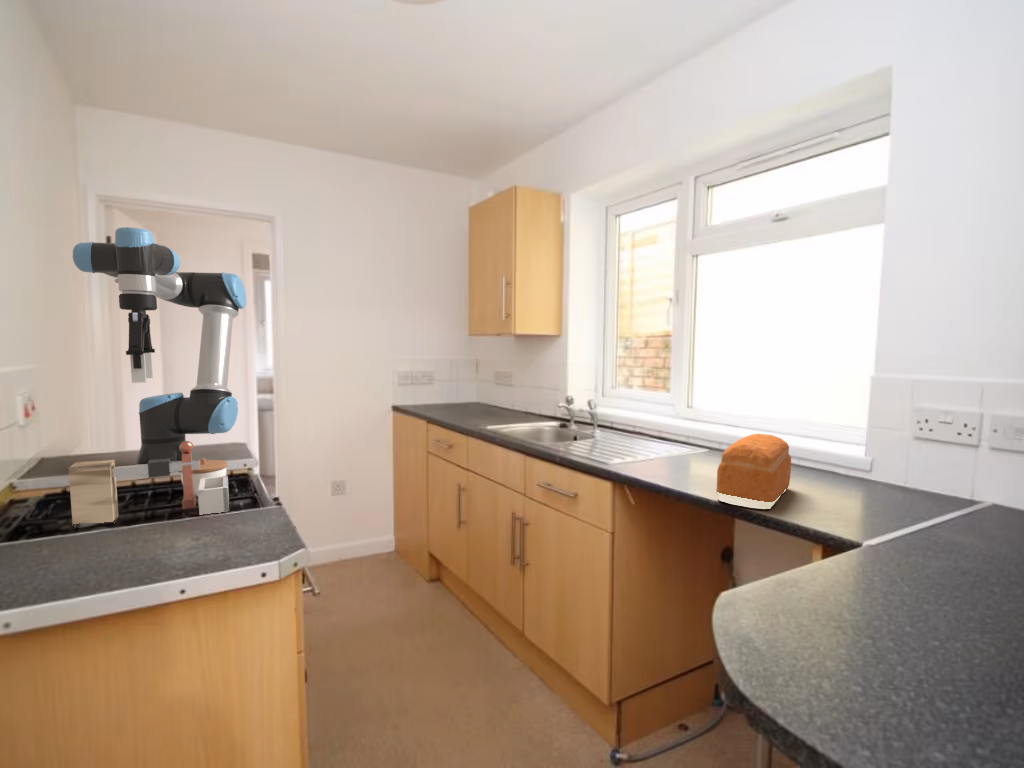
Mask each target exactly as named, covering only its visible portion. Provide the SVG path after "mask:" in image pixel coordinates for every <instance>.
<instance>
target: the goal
mask: <svg viewBox="0 0 1024 768" xmlns="http://www.w3.org/2000/svg"><path fill="white" fill-rule="evenodd" d="M198 497H199V505H198V510H199V511H198V512H199V513H198V514H199V515H203V514H211V513H219V514H222V513H221V512H226V513H229V512H230V506H229V505H230V502H229V501H230V500H229V499H230V497H229V477H228V475H227V474H226V476H218V477H209V478H200V484H199V489H198V496H197V498H198ZM228 511H229V512H228ZM211 515H212V514H211Z"/></svg>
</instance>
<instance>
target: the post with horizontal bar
mask: <svg viewBox="0 0 1024 768" xmlns="http://www.w3.org/2000/svg"><path fill="white" fill-rule="evenodd" d="M179 448H180V451H182V461H173V462H170V458H167V459H156V460H149V462H148V464H141V465H136V464H134V465H133V464H132V465H130V464H129V465H121V466H120V465H119V466H115V467H111V472H112V478H115V477H116V478H122V477H125V478H126V477H135V476H142V475H148V479H150V478H151V479H152V478H158V477H159V478H160V477H169V476H171V473H173V472H180V471H182V472H183V484H182V486H183V487H182V488H183V496H182V500H181V503H182V504H181V506H182V510H187V509H195V508H196V506H197V496H196V495H194V487H193V470H194V469H200V461H201V458H198V459H197V458H196V459H194V458H193V460H192V457H193V455H192V451H193V449H194V444H193V443H192V442H191V441H188V440H186V441H184V442H182V443H181V444H180V446H179Z"/></svg>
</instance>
